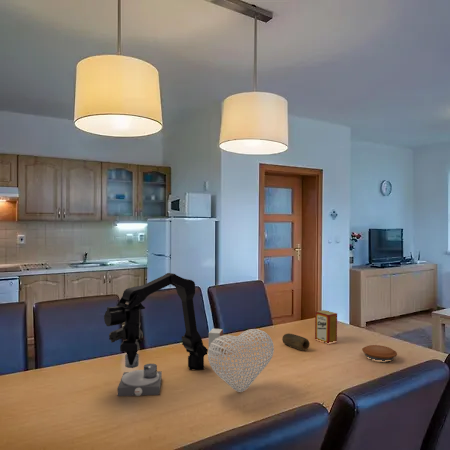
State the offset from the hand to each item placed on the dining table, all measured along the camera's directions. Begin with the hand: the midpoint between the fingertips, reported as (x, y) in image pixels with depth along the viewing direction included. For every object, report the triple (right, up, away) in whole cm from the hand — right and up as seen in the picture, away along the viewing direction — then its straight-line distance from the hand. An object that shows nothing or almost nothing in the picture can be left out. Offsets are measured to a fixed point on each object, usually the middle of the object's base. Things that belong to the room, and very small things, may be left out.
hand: (131, 362), depth 152 cm
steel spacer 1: (0, -1, 0) cm, 1 cm away
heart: (+42, -10, -3) cm, 43 cm away
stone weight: (+72, -11, +51) cm, 89 cm away
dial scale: (+3, -10, 0) cm, 10 cm away
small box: (+31, -10, +42) cm, 54 cm away
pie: (+109, -11, +36) cm, 116 cm away
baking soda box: (+90, -11, +63) cm, 110 cm away
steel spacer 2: (+7, -6, +1) cm, 9 cm away
